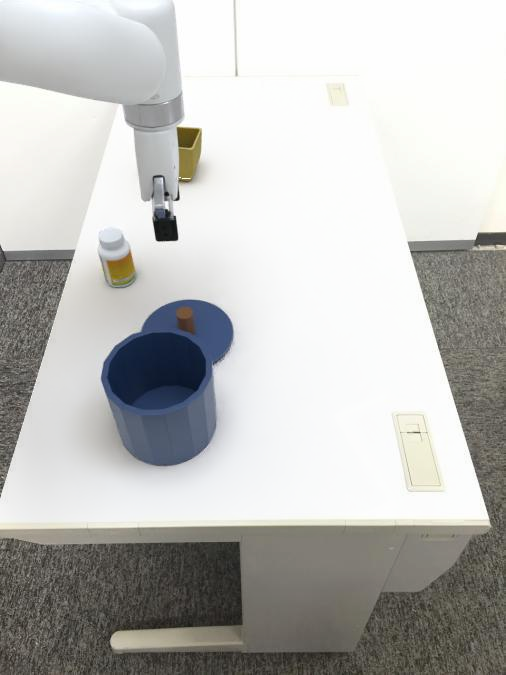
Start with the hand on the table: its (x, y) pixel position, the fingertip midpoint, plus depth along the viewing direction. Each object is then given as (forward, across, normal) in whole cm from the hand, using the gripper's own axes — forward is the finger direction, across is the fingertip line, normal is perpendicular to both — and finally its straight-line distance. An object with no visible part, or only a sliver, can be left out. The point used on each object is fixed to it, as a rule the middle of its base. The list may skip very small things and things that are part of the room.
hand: (168, 219), depth 79 cm
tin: (+17, +25, -1) cm, 30 cm away
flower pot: (+17, -39, 0) cm, 42 cm away
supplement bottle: (+17, -6, -10) cm, 21 cm away
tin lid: (+16, +9, +2) cm, 18 cm away
